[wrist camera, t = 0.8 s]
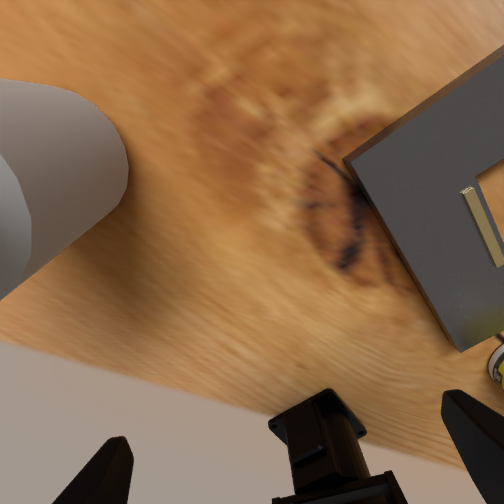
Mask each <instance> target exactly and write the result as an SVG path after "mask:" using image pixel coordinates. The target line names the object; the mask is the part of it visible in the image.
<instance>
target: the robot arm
mask: <svg viewBox="0 0 504 504" xmlns="http://www.w3.org/2000/svg"><path fill="white" fill-rule="evenodd" d="M441 416H442V420H443V422H444V424H445V426H446V428H447V430H448V432H449V434H450V436H451V438H452V440H453V442H454V444H455V446H456V448H457V450H458V452H459V454H460V456H461V458H462V460H463V462H464V464H465V466H466V468H467V470H468V472H469V474H470V476H471V478H472V480H473V482H474V483H475V485H476V487H477V488H478V490H479V492H480V494H481V495H482V497H483V498H484V500H485V502H486V503H487V504H504V417H503V416H502V415H500V414H499V413H497V412H495V411H494V410H492V409H491V408H489V407H487V406H486V405H484V404H483V403H481V402H479V401H478V400H476V399H475V398H473V397H471V396H470V395H468V394H467V393H465V392H463V391H462V390H459V389H455V390H448V391H444V393H443V396H442V406H441ZM268 426H269V429H270V430H271V431H272V432H273V433H274V434H275V435H276V436H277V437H278V438H279V439H280V440H282V442H284V443H285V444H286V445H287V447H288V454H289V460H290V465H291V471H292V478H293V485H294V491H295V495H292V496H288V497H283V498H280V497H277V498H273V499H272V504H408V503H407V501H406V499H405V497H404V494H403V492H402V490H401V488H400V487H399V484H398V482H397V480H396V478H395V476H394V474H393V472H392V471H391V470H390V471H386V472H384V474H380V475H376V476H370V473H369V470H368V468H367V465H366V462H365V460H364V457H363V454H362V451H361V448H360V446H359V443H358V440H357V439H359V438H361V437H363V436H365V435H366V434H367V431H366V428H365V426H364V425H363V424H362V423H361V422H360V420H359V419H358V418H357V417H356V416H355V414H354V413H353V412H352V411H351V410H350V409H349V407H348V406H347V405H346V404H345V403H344V402H343V400H342V399H341V398H340V397H339V396H338V395H337V393H336V392H335V391H334V390H333V389H325V390H324V391H322V392H320V393H318V394H316V395H314V396H313V397H311V398H309V399H307V400H305V401H303V402H301V403H300V404H298V405H296V406H294V407H292V408H290V409H289V410H287V411H285V412H283V413H281V414H279V415H278V416H276V417H274V418H272V419H270V420H269V421H268ZM133 463H134V458H133V453H132V451H131V449H130V446H129V444H128V442H127V440H126V438H125V437H124V436H119V437H112V438H110V439H108V440H107V441H106V442H105V443H104V445H103V446H102V447H101V448H100V449H99V450H98V451H97V453H96V454H95V455H94V456H93V457H92V458H91V459H90V461H89V462H88V463H87V464H86V465H85V466H84V467H83V469H82V470H81V471H80V472H79V473H78V474H77V476H76V477H75V478H74V479H73V480H72V481H71V482H70V484H69V485H68V486H67V487H66V488H65V489H64V490H63V492H62V493H61V494H60V495H59V496H58V497H57V498H56V500H55V501H54V502H53V503H52V504H127V501H128V495H129V488H130V483H131V476H132V470H133Z"/></svg>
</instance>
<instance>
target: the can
mask: <svg viewBox="0 0 504 504" xmlns="http://www.w3.org/2000/svg"><path fill="white" fill-rule="evenodd" d="M128 172H129V165H128V160H127V155H126V150H125V146H124V144H123V142H122V140H121V138H120V136H119V134H118V132H117V130H116V129H115V127H114V125H113V123H112V122H111V121H110V120H109V119H108V118H107V117H106V116H105V115H104V114H103V113H102V112H101V111H100V109H99V108H98V107H97V106H96V105H94V104H93V103H91V102H89V101H88V100H86V99H84V98H83V97H81V96H80V95H78V94H76V93H75V92H72V91H69V90H65V89H62V88H58V87H54V86H51V85H45V84H37V83H30V82H23V81H16V80H9V79H1V78H0V300H2V299H3V298H4V297H5V296H7V295H8V294H9V293H10V292H12V291H13V290H14V289H15V288H17V287H18V286H19V285H20V284H22V283H23V282H24V281H25V280H27V279H28V278H29V277H30V276H32V275H33V274H34V273H35V272H37V271H38V270H39V269H40V268H42V267H43V266H44V265H45V264H47V263H48V262H49V261H50V260H52V259H53V258H54V257H55V256H57V255H58V254H59V253H60V252H62V251H63V250H64V249H65V248H67V247H68V246H69V245H70V244H72V243H73V242H74V241H75V240H77V239H78V238H79V237H80V236H82V235H83V234H84V233H85V232H87V231H88V230H89V229H90V228H92V227H93V226H94V225H95V224H97V223H98V222H99V221H100V220H102V219H103V218H104V217H105V216H106V215H107V214H109V213H110V212H111V211H112V210H113V209H114V208H115V207H116V206H117V205H118V204H119V202H120V200H121V198H122V196H123V194H124V192H125V190H126V188H127V181H128Z"/></svg>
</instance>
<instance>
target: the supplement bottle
mask: <svg viewBox="0 0 504 504" xmlns="http://www.w3.org/2000/svg"><path fill="white" fill-rule="evenodd" d="M488 369H489V373H490V375H491V377H492V379H493V380H494V381H495V382H496V383H497V384H498V386H499V387H500V388H501V389H502V390H503V391H504V344H503V345H501V346H500V347H499V348H498V349H497V350H496V351H495V352H494V354H493V355H492V357H491V359H490V361H489V366H488Z"/></svg>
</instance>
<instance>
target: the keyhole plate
mask: <svg viewBox="0 0 504 504" xmlns="http://www.w3.org/2000/svg"><path fill="white" fill-rule="evenodd" d="M502 159H504V45H503V46H502V47H500V48H499V49H497V50H496V51H495V52H493V53H492V54H490V55H489V56H487V57H486V58H485V59H483V60H482V61H480V62H479V63H478V64H476V65H475V66H473V67H472V68H470V69H469V70H468V71H466V72H465V73H463V74H462V75H460V76H459V77H458V78H456V79H455V80H453V81H452V82H451V83H449V84H448V85H446V86H445V87H443V88H442V89H441V90H439V91H438V92H436V93H435V94H433V95H432V96H431V97H429V98H428V99H426V100H425V101H424V102H422V103H421V104H419V105H418V106H416V107H415V108H414V109H412V110H411V111H409V112H408V113H406V114H405V115H404V116H402V117H401V118H399V119H398V120H397V121H395V122H394V123H392V124H391V125H389V126H388V127H387V128H385V129H384V130H382V131H381V132H379V133H378V134H377V135H375V136H374V137H372V138H371V139H370V140H368V141H367V142H365V143H364V144H362V145H361V146H360V147H358V148H357V149H355V150H354V151H352V152H351V153H350V154H348V155H347V156H345V157H344V158H343V161H344V162H345V164H346V166H347V167H348V169H349V171H350V173H351V174H352V176H353V178H354V179H355V181H356V183H357V185H358V186H359V188H360V190H361V191H362V193H363V195H364V197H365V198H366V200H367V202H368V203H369V205H370V207H371V208H372V210H373V212H374V214H375V215H376V217H377V219H378V220H379V222H380V224H381V226H382V227H383V229H384V231H385V232H386V234H387V236H388V238H389V239H390V241H391V243H392V244H393V246H394V248H395V249H396V251H397V253H398V255H399V256H400V258H401V260H402V261H403V263H404V265H405V267H406V268H407V270H408V272H409V273H410V275H411V277H412V279H413V280H414V282H415V284H416V285H417V287H418V289H419V291H420V292H421V294H422V296H423V297H424V299H425V301H426V302H427V304H428V306H429V308H430V309H431V311H432V313H433V314H434V316H435V318H436V320H437V321H438V323H439V325H440V326H441V328H442V330H443V332H444V333H445V335H446V337H447V338H448V340H449V341H450V342H451V343H452V344H453V345H454V346H455V347H456V349H457V350H458V351H459V352H460V353H461V352H463V351H465V350H467V349H469V348H471V347H473V346H475V345H476V344H478V343H480V342H482V341H484V340H486V339H488V338H490V337H492V336H494V335H496V334H498V333H500V332H502V331H503V330H504V243H503V241H502V238H501V236H500V234H499V231H498V229H497V226H496V224H495V222H494V219H493V217H492V215H491V212H490V210H489V207H488V205H487V203H486V200H485V198H484V196H483V193H482V191H481V188H480V186H479V184H478V181H477V179H476V177H475V176H477V175H478V174H480V173H481V172H483V171H485V170H486V169H488V168H489V167H491V166H492V165H494V164H496V163H497V162H499V161H500V160H502Z"/></svg>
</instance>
